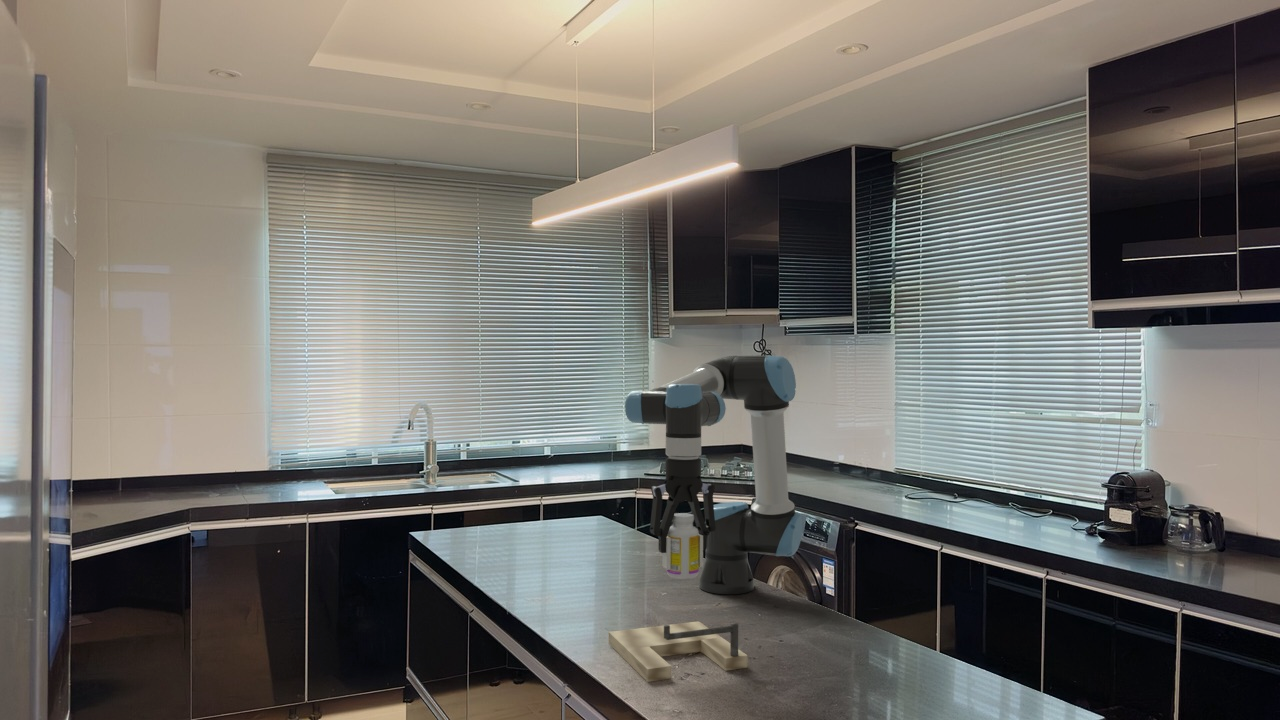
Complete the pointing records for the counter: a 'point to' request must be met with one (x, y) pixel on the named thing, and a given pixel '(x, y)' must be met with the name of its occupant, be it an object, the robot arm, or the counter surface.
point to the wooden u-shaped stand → (676, 647)
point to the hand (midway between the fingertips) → (682, 566)
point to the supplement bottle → (684, 547)
